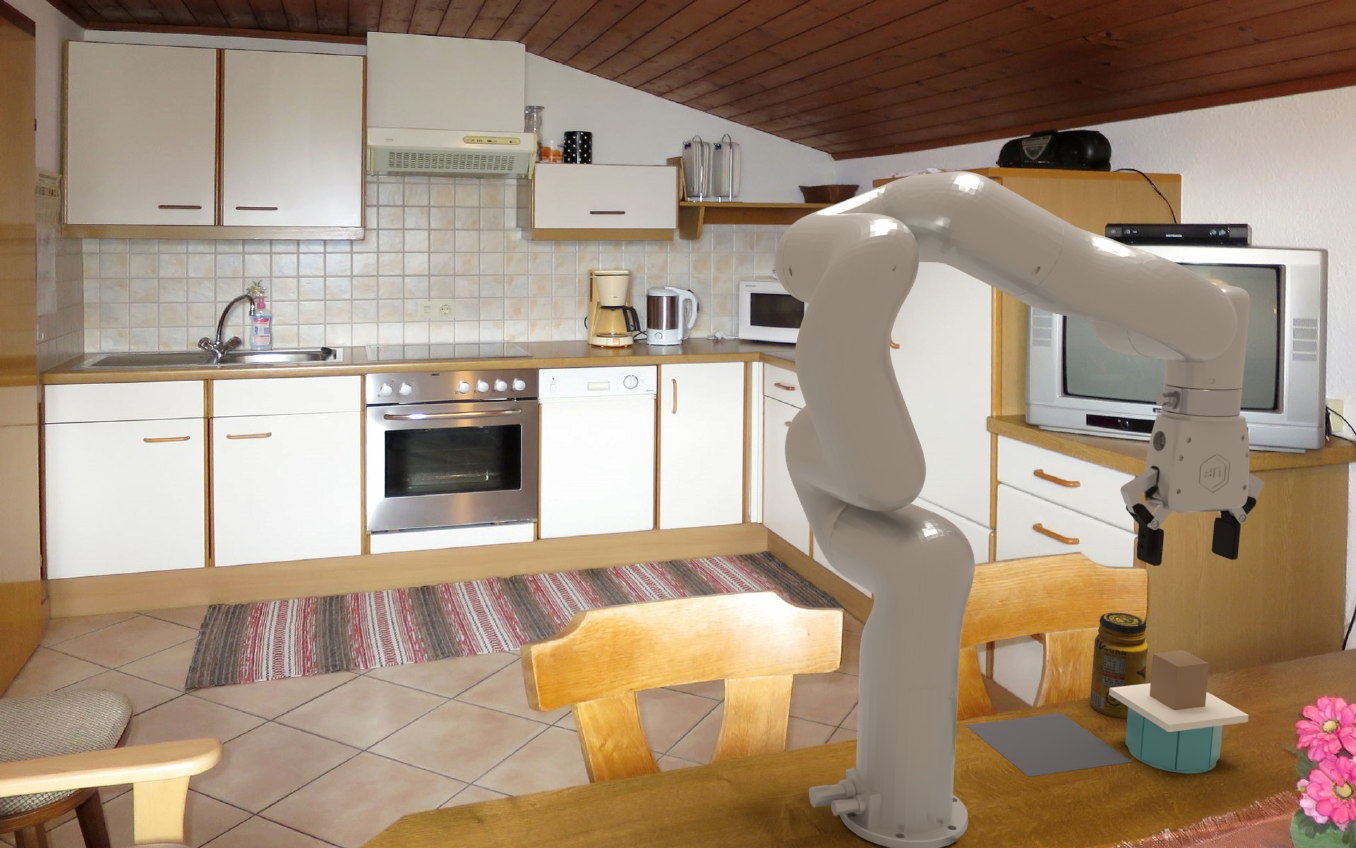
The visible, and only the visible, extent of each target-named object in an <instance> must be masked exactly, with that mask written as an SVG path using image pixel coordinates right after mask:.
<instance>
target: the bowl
mask: <svg viewBox="0 0 1356 848" xmlns="http://www.w3.org/2000/svg"><path fill="white" fill-rule="evenodd" d="M1126 719H1127V720H1126V729H1125V730H1126V731H1125V745H1126V747H1127V749H1128V752H1129V753H1130V754H1131V756H1132V757H1134V758H1135V759H1136V760H1137V761H1139V762H1142V763H1143V764H1145V765H1147V766H1149V767H1150V766H1151V767H1153V768H1156V769H1158V770H1162V771H1168V772H1171V773H1179V774H1201V773H1202V774H1203V773H1206V772H1209V771H1211V770H1213V769H1214V768H1215V767H1216V765H1217V761H1218V760H1219V759H1220V758H1221V750H1222V749H1221V747H1222V739H1223V730H1224V729H1223V728H1224V725H1221V726H1213V727H1205V728H1197V729H1189V730H1182V731H1174V732H1167V731H1166V730H1164V729H1163V728H1161V727H1160V726H1158V725H1156V724H1155V723H1153V722H1152V721H1150V720H1148V719H1147V718H1145V717H1144V716H1142V715H1141V714H1139V713H1137V712H1136V711H1134V710H1133V709H1131V708H1130V707H1128V716H1127V718H1126Z"/></svg>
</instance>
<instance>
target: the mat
mask: <svg viewBox="0 0 1356 848" xmlns="http://www.w3.org/2000/svg"><path fill="white" fill-rule="evenodd" d="M965 726H966V728H968V729H969V730H971V731H972V733H974V734H975V735H976V736H977V737H979V738H980V739H981V740H982V741H984V742H985V743H987V745H988V746H990V747H991V748H992V749H994V750H995V751H996V752H997V753H998V754H1000V755H1001V756H1002V757H1004V758H1005V760H1007V761H1008V762H1010V763H1011V764H1012V765H1013V766H1014V767H1016V768H1017V769H1018V770H1019V771H1021V773H1023V774H1024V775H1025V776H1027V777H1028V778H1031V777H1038V776H1039V777H1040V776H1045V775H1051V774H1058V773H1065V772H1072V771H1080V770H1086V769H1087V770H1088V769H1094V768H1101V767H1107V766H1114V765H1124V764H1129V763H1133V761H1132V760H1131V759H1130V758H1128V757H1126V756H1125V755H1124V754H1122V753H1121V752H1119V751H1118V750H1117V749H1115V748H1113V747H1112V746H1110V745H1109V744H1107V743H1106V742H1104V741H1103V740H1102V739H1100V738H1099V737H1097V736H1096V735H1095V734H1094V733H1092V732H1090V731H1088V730H1087V729H1086V728H1084V727H1083V726H1082V725H1080V724H1079V723H1077V722H1076V721H1074V720H1072V719H1071V718H1070V717H1068V716H1067V715H1065V714H1064V713H1063V712H1061V713H1051V714H1045V715H1043V714H1042V715H1037V716H1030V717H1021V718H1012V719H1004V720H997V721H989V722H982V723H981V722H979V723H973V724H965Z"/></svg>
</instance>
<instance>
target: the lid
mask: <svg viewBox="0 0 1356 848" xmlns="http://www.w3.org/2000/svg"><path fill="white" fill-rule="evenodd" d="M1209 668H1210V663H1209V662H1207V661H1205V660H1203V659H1202V658H1200V657H1198V656H1196V655H1194V654H1193V653H1190V652H1189V651H1186V650H1184V649H1181V650H1172V651H1171V650H1169V651H1163V652H1153V653H1152V663H1151V675H1150V683H1145V684H1139V685H1131V686H1122V687H1113V688H1109V695H1111V696H1112V697H1114V698H1115V699H1117V700H1118V701H1120V702H1122V703H1123V704H1125V705H1126V706H1128V707H1130V708H1131V709H1133V710H1134V711H1136V712H1137V713H1139V714H1141V715H1142V716H1144V717H1145V718H1147V719H1148V720H1150V721H1152V722H1153V723H1155V724H1156V725H1158V726H1160V727H1161V728H1163V729H1164V730H1166V731H1167V732H1174V731H1182V730H1189V729H1197V728H1205V727H1213V726H1221V725H1223V726H1228V725H1235V724H1242V723H1248V722H1249V714H1247V713H1246V712H1244V711H1242V710H1240V709H1238V708H1237V707H1234V706H1233V705H1231V704H1229V703H1228V702H1226V701H1224V700H1222V698H1218V697H1217V696H1215V695H1213V694H1212V693H1210V692H1208V680H1209Z"/></svg>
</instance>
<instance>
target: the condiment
mask: <svg viewBox="0 0 1356 848" xmlns="http://www.w3.org/2000/svg"><path fill="white" fill-rule="evenodd" d="M1098 621H1099V626H1098V629H1097V632H1098V634H1097V635H1096V637H1095V638H1094V646H1093V658H1092V668H1091V669H1092V671H1091V686H1090V698H1089V701H1090V705H1091V708H1092V709H1093V710H1095V711H1096V712H1098V713H1100V714H1102V715H1104V716H1109V717H1112V718H1117V719H1118V718H1120V719H1127V716H1128V706H1126V705H1125V704H1123V703H1122V702H1120V701H1118V700H1117V699H1115V698H1114V697H1112V696H1111V695H1109V688H1113V687H1122V686H1131V685H1139V684H1146V677H1147V662H1148V652H1149V647H1148V643H1147V641H1146V637H1147V635H1146V634H1147V633H1146V631H1147V630H1146V629H1147V623H1146V621H1145V620H1144V619H1143V618H1141V617H1139V616H1137V615H1134V614H1130V613H1125V612H1107V613H1103V614H1101V616H1100V618H1099V620H1098Z"/></svg>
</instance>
